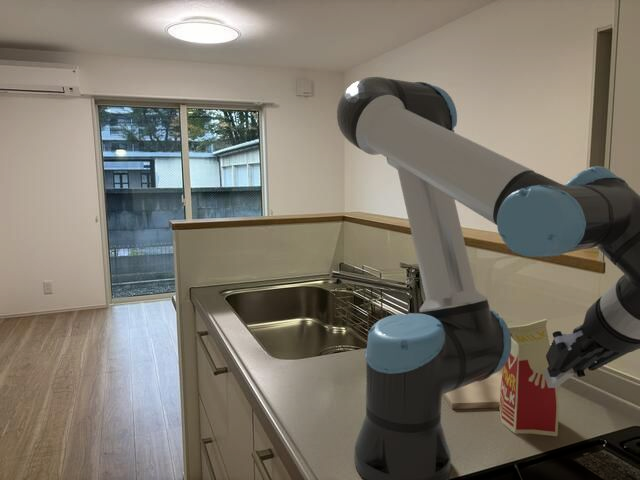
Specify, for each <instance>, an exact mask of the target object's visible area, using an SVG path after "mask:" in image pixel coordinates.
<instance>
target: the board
mask: <svg viewBox="0 0 640 480" xmlns="http://www.w3.org/2000/svg"><path fill="white" fill-rule="evenodd" d="M502 371H503V368H502V369H501V370H499V371H498V372H496V373H495V374H492V375H491V376H490V377H489V378H487V379H484V380H482V381H476V382H474V383H471V384H468V385H466V386H463V387H461V388H458V389H455V390H453V391H450V392H447V393H445V394H443V395H442V396H443V397H442V398H444V400H445V401H446V402H447V404H448V405H449V407H450V408H451V410H461V409H465V410H466V409H490V408H491V409H493V408H496V409H497V408H499V406H500V387H501V379H502Z"/></svg>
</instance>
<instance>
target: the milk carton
mask: <svg viewBox="0 0 640 480" xmlns="http://www.w3.org/2000/svg"><path fill="white" fill-rule="evenodd" d="M547 323H548V319H547V318H544V319H541V320H537V321H534V322H530V323H528V324H521V325H515V326H508V329H509V331H510V335H511V352H510V356H509V359H508V361H507V362H506V364H505V365H504V367H503V371H502V379H501V387H500V406H499V407H498V408H499V415H500V416H499V417H500V422H501V424H502V425H504V426H505V427H506V428H508V429H509V430H510V431H511V432H513V433H514V434H516V435H517V434H521V435H522V434H527V435H528V434H530V435H531V434H534V435H541V436H552V437H558V431H559V430H558V429H559V427H558V426H559V413H560V412H559V411H560V410H559V409H560V404H559V392H558V387H557V388H548V386H547V383H546V380H545V377H544V374H543V372H544V371H545V370H546V369H547V368H548V367H549V364H548V361H547V358H546V355H547V352H548V350H549V348H550V346H551V343H550V339H549V335H548V329H547Z"/></svg>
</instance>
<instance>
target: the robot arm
mask: <svg viewBox="0 0 640 480" xmlns="http://www.w3.org/2000/svg"><path fill="white" fill-rule="evenodd" d="M336 119H337V125H338V127H339V130H340V132H341V134H342V135H343V136H344V138H345V139H346V140H347V141H348V142H349V143H350V144H352V145H353V146H355V147H356V148H358V149H359V150H361V151H363V152H364V153H366V154H368V155H372V156H376V155H382V156H383V157H386V162H387V164H388V165H390V166H391V167H392V168H394V169H396V170H397V174H398V178H399V182H400V187H401V191H402V192H401V193H402V196H403V200H404V205H405V209H406V214H407V220H408V223H409V228H410V232H411V238H412V243H413V246H414V250H415V251H414V252H415V255H416V259H417V264H418V269H419V273H420V278H421V283H422V287H423V291H424V296H425V299H424V300H425V301H424V302H423V304H422V305H421V306H420V308H419V313H416V312H409V313H408V314H404V313H398V314H392V315H389V316H386V317H383V318H381V319H379V320H378V321H376V322H375V323H374V324H373V325H372V326H371V328H370V329H369V331H368V333H367V343H366V344H367V346H366V349H365V360H366V361H365V362H366V365H365V366H366V385H365V386H366V390H365V391H366V393H365V394H366V396H365V398H366V399H365V401H366V402H365V404H366V405H365V417H364V419H363V421H362V425H361V428H360V430H359V432H358V433H359V434H358V436H357V439H356V442H355V444H354V454H353V455H354V460H353V461H354V466H355V469H356V471H357V472H358V474H359V475H360V476H361V477H362V478H363V479H365V480H448V479H449V477H450V475H451V461H452V459H451V453H450V448H449V445H448V442H447V438H446V436H445V433H444V429H443V426H442V419H441V418H442V417H441V416H442V398H443V397H442V396H443V394H445V393H447V392H450V391H453V390H455V389H458V388H461V387H463V386H466V385H468V384H471V383H474V382H476V381H482V380H484V379H487V378H489V377H490V376H491V375H492V374H495V373H496V372H498V371H499V370H501V369H502V368H503V367H504V365H505V364H506V362H507V361H508V359H509V356H510V352H511V335H510V331H509V329H508V327H509V326H508V323H506V321H505V319H504V318H502V317H500V316H499V313H498V312H496V311H494V310H493V309H491V308H490V304H489V301H488V296H485V295H484V294H483V293H481V292H479V291H478V290H477V289H476V285H475V281H474V277H473V274H472V269H471V265H470V260H469V256H468V252H467V247H466V243H465V239H464V235H463V230H462V226H461V222H460V217H459V213H458V209H457V205H456V201H457V203H460V204H462V205H463V206H465V207H467V208H468V209H470V210H471V211H473V212H474V213H476V214H478V215H480V216H481V217H483V219H486V220H487V221H489V222H491V223H493V224H494V225H496V227H497V231H498V234H499V236H500V237H501V239H502V241H503V242H504V244H505V246H506V248H509V250H511V251H512V252H513V253H516V254H517V255H520V256H523V257H527V258H536V257H539V258H551V257H557V256H561V255H564V254H567V253H573V252H577V251H582V250H588V249H592V248H593V249H594V248H597V249H598V251H600V252H601V253H602V254H603V255H604V256H605V257H606V258H607V259H608V260H609V261H610V262H611V263H612V264H613V265H614V266H615V267H617V268H618V269H619V270H620V271H621V272H622V274H623V275H622V276H621V277H620V278H619V279H617V280H616V282H614V283H613V284H611V286H610V287H609V288H607V290H606V291H604V292H603V294H602V295H601V296H599V298H597V300H596V301H595V302H594V303H592V305H590V307H588V309H587V310H586V313H585V316H584V319H583V323H582V324H581V325H579V326H577V327H575V328H574V329H573V331H572V333H568V334H567V333H565V332H564V333H562V331H561V330H559V331H558V330H556V331H554V332H553V333H552V336H553V340H552V342H551V343H550V348H549V350H548V352H547V355H546V358H547V361H548V364H549V367H548V368H547V369H546V370H545V371H544V372H543V374H544V377H545V380H546V383H547V386H548V388H557V389H558V387H560V385H562V384H563V383H565V382H566V381H568V380H569V379H570V378H571V377H572V376H574V375H575V374H576V375H577V377H578V378H581V377H583V378H584V377H585V376H586V374H585V370H588V371H595V370H598V369H600V368H602V367H604V366H606V365H607V364H609V363H611V362H613V361H616V360H617V359H619V358H621V357H623V356H625V355H627V354H629V353H632V352H635V351H637V350H640V194H638V193H637V192H636V191H635V190H634V189H633V188H632V187H630V186H629V184H628V183H627V181H626V180H625V179H624V178H621V177H619V176H618V175H616V174H615V173H614V172H612V171H611V170H609V169H608V168H607V167H605V166H600V165H596V166H595V165H594V166H591V167H589V168H588V169H587V170H586V169H584V170H582V171H580V172H578V173H577V174H575V175H574V176H573V177H572V178H570V179H569V180H568V181H567V182H566V183H565V184H562V183H560V182H557V181H555V180H553V179H551V178H549V177H547V176H544V174H543V175H542V174H541V173H538V172H535V170H533V169H531V168H529V167H526V166H524V165H523V164H520V163H518V162H516V161H514V160H512V159H510V158H508V157H506V156H504V155H502V154H499V153H498V152H495V151H494V150H491V149H489V148H487V147H485V146H484V145H481V144H479V143H478V142H475V141H472V140H470V139H469V138H466V137H464V136H463V135H460V134H458V133H455V130H454V129H455V127H457V123H458V114H457V108H456V104H455V103H454V100H453V99H452V97H451V96H450V94H449V93H448V92H447V91H446V90H444V89H443V88H441V87H439V86H436V85H432V84H431V83H427V82H423V81H416V82H415V81H414V82H413V81H407V80H406V81H405V80H401V79H392V78H387V77H382V76H370V77H369V76H368V77H365V78H362V79H359V80H357V81H355V82H353V83H352V84H351V85H349V86H348V87H347V88H346V89H345V91H344V92H343V94H342V96H341V97H340V99H339V101H338V104H337V110H336Z"/></svg>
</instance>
